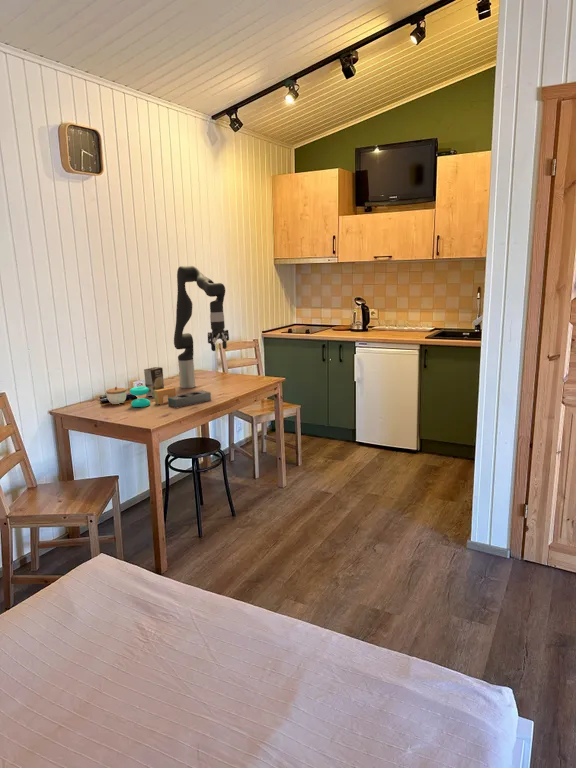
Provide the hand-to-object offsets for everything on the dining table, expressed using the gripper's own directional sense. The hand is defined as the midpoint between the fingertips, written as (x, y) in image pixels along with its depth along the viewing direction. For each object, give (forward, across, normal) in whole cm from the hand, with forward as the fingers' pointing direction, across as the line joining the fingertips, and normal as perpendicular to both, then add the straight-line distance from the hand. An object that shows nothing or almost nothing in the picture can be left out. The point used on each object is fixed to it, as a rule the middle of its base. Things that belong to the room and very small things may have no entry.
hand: (219, 349), depth 297 cm
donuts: (+28, +35, -27) cm, 52 cm away
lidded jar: (+28, +38, -44) cm, 64 cm away
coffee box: (+28, +14, -40) cm, 51 cm away
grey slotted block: (+27, +18, -8) cm, 33 cm away
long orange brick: (+27, +23, -21) cm, 41 cm away
